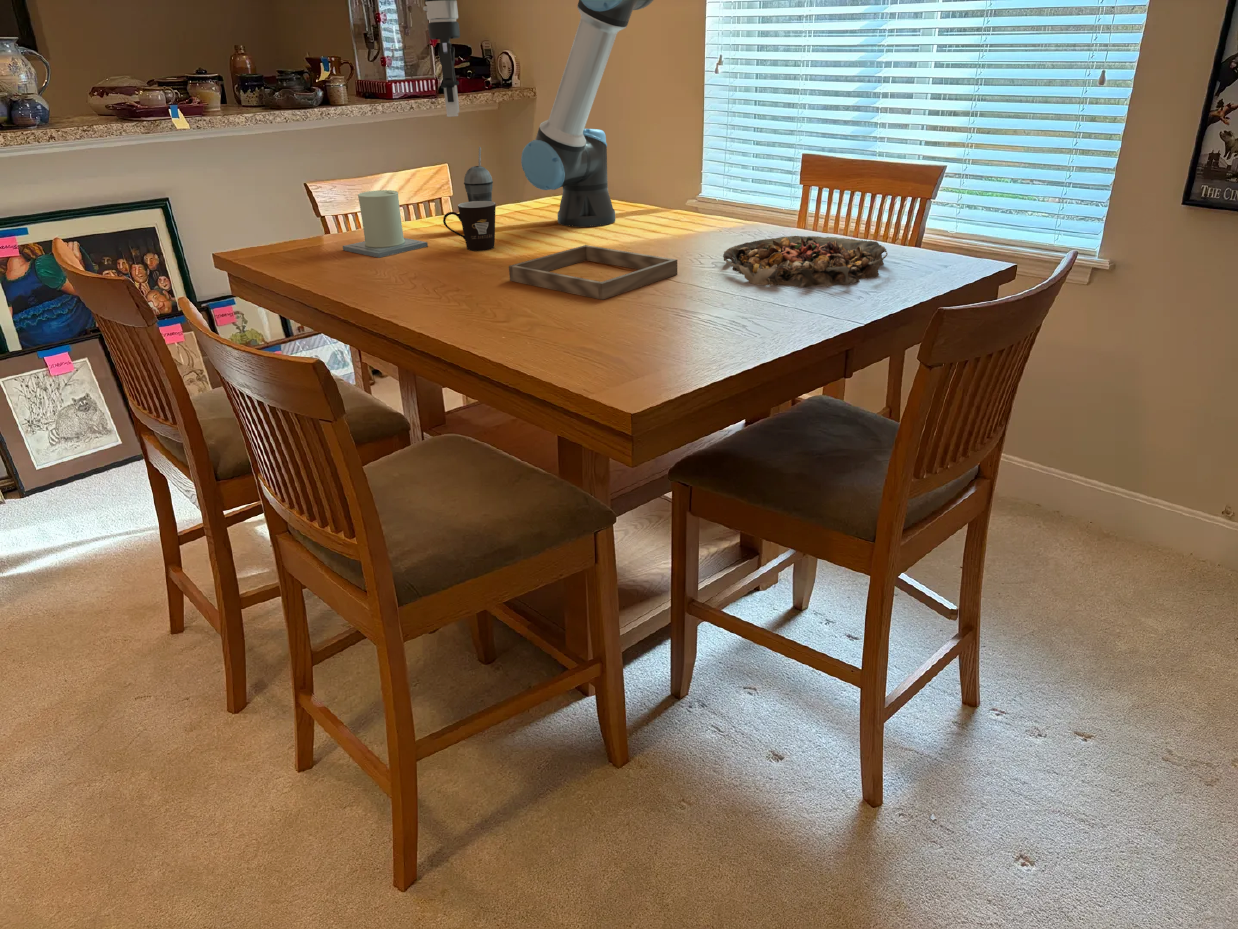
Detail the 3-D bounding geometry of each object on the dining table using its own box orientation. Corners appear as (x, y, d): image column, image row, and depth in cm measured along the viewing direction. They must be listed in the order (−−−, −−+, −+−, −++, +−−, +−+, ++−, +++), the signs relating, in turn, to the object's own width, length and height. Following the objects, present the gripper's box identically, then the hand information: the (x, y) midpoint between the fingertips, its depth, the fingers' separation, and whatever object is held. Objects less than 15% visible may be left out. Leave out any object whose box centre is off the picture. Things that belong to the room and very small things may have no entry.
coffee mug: (502, 243, 214) (499, 200, 209) (494, 251, 206) (490, 207, 202) (455, 244, 215) (450, 201, 211) (445, 252, 207) (440, 207, 203)
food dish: (800, 305, 164) (801, 263, 161) (689, 274, 190) (688, 237, 186) (928, 269, 181) (931, 230, 178) (811, 245, 206) (812, 210, 203)
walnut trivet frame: (677, 274, 183) (677, 259, 181) (602, 299, 167) (602, 283, 166) (586, 258, 197) (585, 244, 196) (509, 280, 182) (508, 265, 180)
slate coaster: (427, 246, 214) (427, 241, 213) (378, 257, 204) (378, 252, 204) (391, 239, 222) (391, 235, 221) (343, 250, 212) (342, 245, 212)
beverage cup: (465, 228, 232) (456, 146, 223) (492, 225, 235) (484, 144, 226) (473, 233, 226) (464, 149, 217) (500, 230, 229) (493, 147, 220)
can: (399, 247, 208) (392, 193, 203) (360, 248, 208) (352, 194, 203) (408, 238, 217) (402, 187, 211) (370, 239, 217) (363, 188, 212)
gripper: (430, 22, 229) (440, 111, 238) (424, 20, 207) (436, 118, 216) (459, 21, 230) (469, 110, 239) (457, 19, 208) (467, 117, 217)
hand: (453, 114), depth 228 cm, fingers open, 13 cm apart
